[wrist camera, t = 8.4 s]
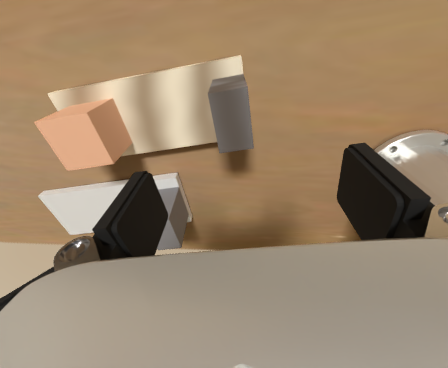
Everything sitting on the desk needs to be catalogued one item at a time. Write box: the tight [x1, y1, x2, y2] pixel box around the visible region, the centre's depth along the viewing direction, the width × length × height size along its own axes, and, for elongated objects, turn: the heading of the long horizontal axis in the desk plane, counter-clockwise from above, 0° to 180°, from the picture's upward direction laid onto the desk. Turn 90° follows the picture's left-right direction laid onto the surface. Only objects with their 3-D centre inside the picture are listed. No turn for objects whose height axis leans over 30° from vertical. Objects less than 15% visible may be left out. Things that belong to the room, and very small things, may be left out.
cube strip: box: [48, 55, 254, 157], centre depth 21 cm, size 20×8×7 cm, turn 100°
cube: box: [34, 98, 133, 171], centre depth 22 cm, size 5×5×5 cm
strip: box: [38, 173, 192, 250], centre depth 29 cm, size 20×8×7 cm, turn 100°
